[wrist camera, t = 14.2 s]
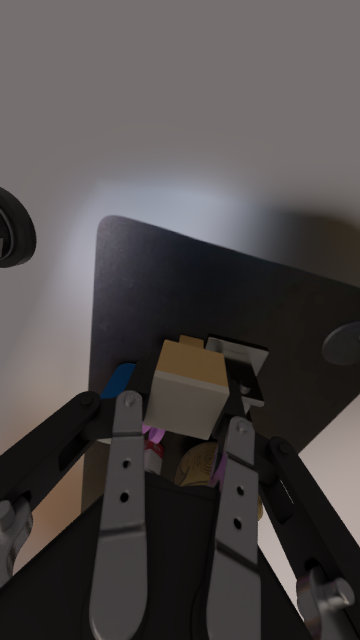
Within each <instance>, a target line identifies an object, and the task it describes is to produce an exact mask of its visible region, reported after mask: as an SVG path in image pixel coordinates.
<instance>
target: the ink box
mask: <svg viewBox="0 0 360 640" xmlns="http://www.w3.org/2000/svg"><path fill="white" fill-rule="evenodd" d="M163 453H164V447H163V446H162V445H161V444H160V443H157V444H156V443H154V442H152V441H150V440H149V439H146V440H144V471H145V472H149V473H153V474H158V475H160V471H161V465H162V459H163Z"/></svg>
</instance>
